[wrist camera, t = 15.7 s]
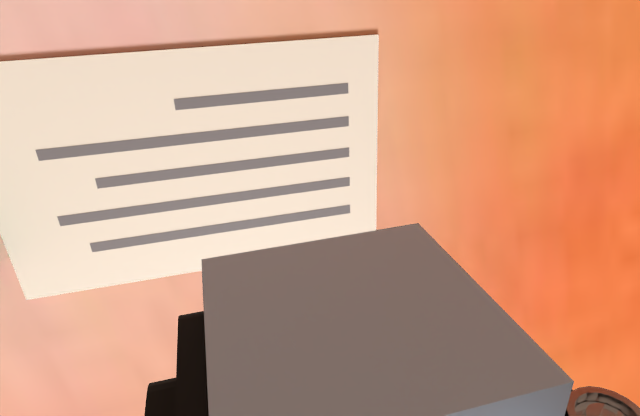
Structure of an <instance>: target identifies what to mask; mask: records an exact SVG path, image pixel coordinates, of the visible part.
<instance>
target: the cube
mask: <svg viewBox="0 0 640 416" xmlns="http://www.w3.org/2000/svg"><path fill="white" fill-rule="evenodd" d="M201 261H202V282H203V304H204V325H205V346H206V368H207V389H208V410H209V416H565V412H566V408H567V405H568V401H569V397H570V394H571V390H572V386H573V383H574V381H573V380H572V379H571V378H570V377H569V376H568V375H567V374H566V373H565V372H564V371H563V370H562V369H561V368H560V367H559V366H558V365H557V364H556V363H555V362H554V361H553V360H552V359H551V358H550V357H549V356H548V355H547V354H546V353H545V352H544V351H543V350H542V349H541V348H540V347H539V346H538V345H537V344H536V343H535V342H534V340H533V339H532V338H531V337H530V336H529V335H528V334H527V333H526V332H525V331H524V330H523V329H522V328H521V327H520V326H519V325H518V324H517V323H516V322H515V321H514V320H513V319H512V318H511V317H510V316H509V315H508V314H507V313H506V312H505V311H504V310H503V309H502V308H501V307H500V306H499V305H498V304H497V303H496V302H495V301H494V300H493V299H492V298H491V297H490V296H489V295H488V294H487V293H486V292H485V291H484V290H483V289H482V288H481V287H480V286H479V285H478V284H477V283H476V282H475V281H474V280H473V279H472V278H471V276H470V275H469V274H468V273H467V272H466V271H465V270H464V269H463V268H462V267H461V266H460V265H459V264H458V263H457V262H456V261H455V260H454V259H453V258H452V257H451V256H450V255H449V254H448V253H447V252H446V251H445V250H444V249H443V248H442V247H441V246H440V245H439V244H438V243H437V242H436V241H435V240H434V239H433V238H432V237H431V236H430V235H429V234H428V233H427V232H426V231H425V230H424V229H423V228H422V227H421V226H420V225H419V224H418V223H417V224H411V225H405V226H399V227H393V228H387V229H381V230H375V231H369V232H363V233H357V234H351V235H345V236H339V237H333V238H327V239H321V240H315V241H309V242H303V243H297V244H291V245H285V246H279V247H273V248H267V249H261V250H255V251H249V252H243V253H236V254H230V255H224V256H218V257H212V258H206V259H201Z"/></svg>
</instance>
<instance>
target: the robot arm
mask: <svg viewBox="0 0 640 416" xmlns="http://www.w3.org/2000/svg"><path fill="white" fill-rule="evenodd" d="M145 416H209V410H208V389H207V368H206V346H205V325H204V312H203V311H202V312H197V313H191V314H186V315H181V316H179V318H178V344H177V375H176V378H172V379H168V380H163V381H158V382H154V383H150V384H149V386H148V390H147V398H146V407H145ZM565 416H640V408H639V407H638V406H637V405H636V404H634V403H633V402H632V401H630V400H629V399H627V398H626V397H624V396H622V395H620V394H618V393H616V392H614V391H611V390H607V389H604V388H600V387H591V386H588V387H581V388H577V389H575V390H574V391H573V390H571V394H570V397H569V401H568V405H567V408H566V412H565Z"/></svg>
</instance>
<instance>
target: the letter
mask: <svg viewBox="0 0 640 416" xmlns="http://www.w3.org/2000/svg"><path fill="white" fill-rule="evenodd" d="M378 46H379V35H378V34H376V35H362V36H348V37H334V38H320V39H306V40H292V41H278V42H264V43H250V44H236V45H222V46H208V47H194V48H180V49H166V50H152V51H138V52H124V53H110V54H96V55H82V56H68V57H54V58H40V59H26V60H12V61H0V235H1V237H2V240H3V242H4V245H5V247H6V250H7V252H8V255H9V257H10V260H11V262H12V265H13V267H14V270H15V272H16V275H17V277H18V280H19V282H20V285H21V288H22V290H23V293H24V295H25V298H26V300H29V299H35V298H41V297H47V296H53V295H59V294H65V293H71V292H77V291H83V290H89V289H95V288H101V287H107V286H113V285H119V284H125V283H131V282H137V281H143V280H149V279H155V278H161V277H167V276H173V275H179V274H185V273H191V272H197V271H202V261H201V259H206V258H212V257H218V256H224V255H230V254H236V253H243V252H249V251H255V250H261V249H267V248H273V247H279V246H285V245H291V244H297V243H303V242H309V241H315V240H321V239H327V238H333V237H339V236H345V235H351V234H357V233H363V232H369V231H375V230H376V201H377V123H378Z"/></svg>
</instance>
